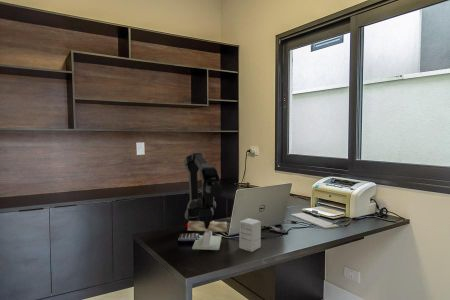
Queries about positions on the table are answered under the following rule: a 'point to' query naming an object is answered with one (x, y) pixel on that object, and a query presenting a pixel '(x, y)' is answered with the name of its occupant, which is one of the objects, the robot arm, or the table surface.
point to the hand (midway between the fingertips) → (207, 225)
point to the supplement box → (250, 234)
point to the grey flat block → (315, 220)
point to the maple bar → (212, 227)
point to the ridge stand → (207, 242)
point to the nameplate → (277, 230)
